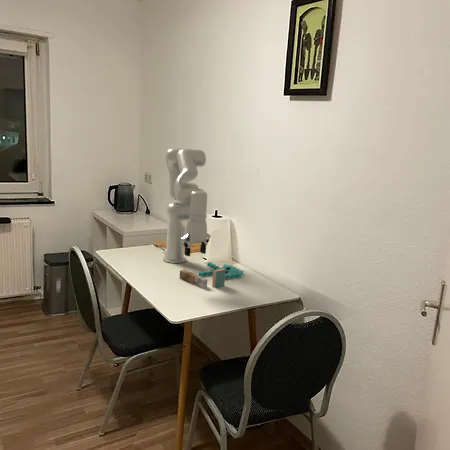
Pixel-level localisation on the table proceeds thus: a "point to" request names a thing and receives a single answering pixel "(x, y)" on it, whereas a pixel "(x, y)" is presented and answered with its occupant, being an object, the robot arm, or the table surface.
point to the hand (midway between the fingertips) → (195, 254)
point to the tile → (218, 278)
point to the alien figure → (230, 272)
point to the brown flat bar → (193, 278)
